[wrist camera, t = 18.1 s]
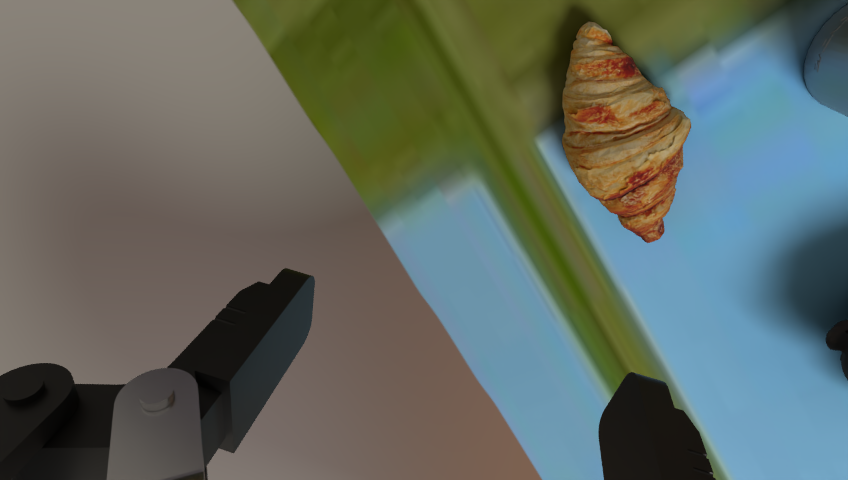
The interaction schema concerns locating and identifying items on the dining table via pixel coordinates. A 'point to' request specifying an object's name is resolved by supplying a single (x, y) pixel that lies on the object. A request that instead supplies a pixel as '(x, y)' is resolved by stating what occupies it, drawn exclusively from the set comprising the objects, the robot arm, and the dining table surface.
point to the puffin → (839, 342)
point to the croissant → (621, 133)
